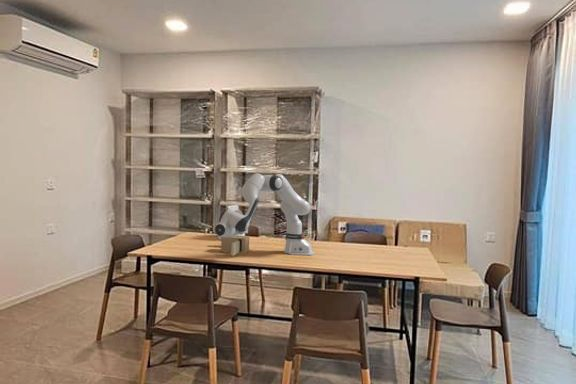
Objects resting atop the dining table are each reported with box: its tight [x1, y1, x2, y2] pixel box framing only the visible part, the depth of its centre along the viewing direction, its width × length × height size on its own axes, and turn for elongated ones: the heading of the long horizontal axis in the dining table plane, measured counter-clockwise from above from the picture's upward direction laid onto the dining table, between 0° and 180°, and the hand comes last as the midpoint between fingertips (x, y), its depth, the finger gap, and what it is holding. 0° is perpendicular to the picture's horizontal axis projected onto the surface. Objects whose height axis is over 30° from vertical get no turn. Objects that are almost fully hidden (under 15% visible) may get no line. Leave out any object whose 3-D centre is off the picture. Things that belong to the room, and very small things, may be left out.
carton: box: [220, 235, 250, 255], centre depth 313 cm, size 18×10×11 cm, turn 79°
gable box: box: [218, 204, 246, 241], centre depth 365 cm, size 22×13×28 cm, turn 158°
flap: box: [230, 241, 240, 256], centre depth 298 cm, size 2×12×8 cm, turn 169°
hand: (236, 231), depth 292 cm, fingers open, 8 cm apart
